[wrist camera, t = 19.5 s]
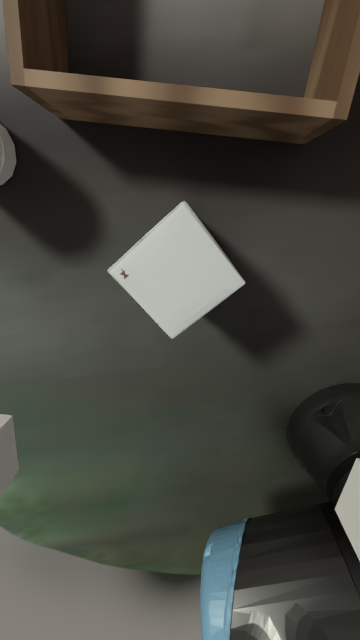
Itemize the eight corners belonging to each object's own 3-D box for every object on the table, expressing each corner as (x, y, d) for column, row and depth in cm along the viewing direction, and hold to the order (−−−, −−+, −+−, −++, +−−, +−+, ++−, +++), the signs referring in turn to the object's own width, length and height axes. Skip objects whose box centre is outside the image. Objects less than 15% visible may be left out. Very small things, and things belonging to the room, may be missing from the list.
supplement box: (177, 296, 34) (169, 343, 22) (135, 247, 32) (102, 269, 20) (227, 257, 32) (249, 285, 20) (186, 202, 30) (182, 197, 18)
